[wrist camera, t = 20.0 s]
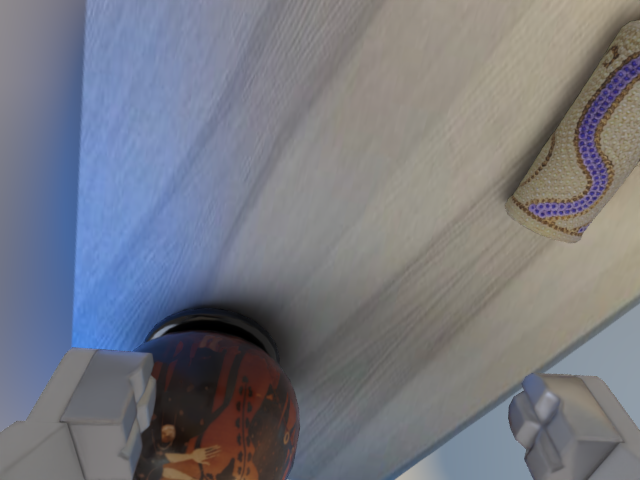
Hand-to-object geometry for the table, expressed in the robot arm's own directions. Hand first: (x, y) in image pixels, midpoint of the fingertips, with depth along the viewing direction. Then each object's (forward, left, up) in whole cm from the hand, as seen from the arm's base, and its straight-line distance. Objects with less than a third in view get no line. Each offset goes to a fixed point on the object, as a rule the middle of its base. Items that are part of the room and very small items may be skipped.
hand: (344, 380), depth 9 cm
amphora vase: (-7, -35, -32) cm, 48 cm away
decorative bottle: (+27, +1, -32) cm, 42 cm away
